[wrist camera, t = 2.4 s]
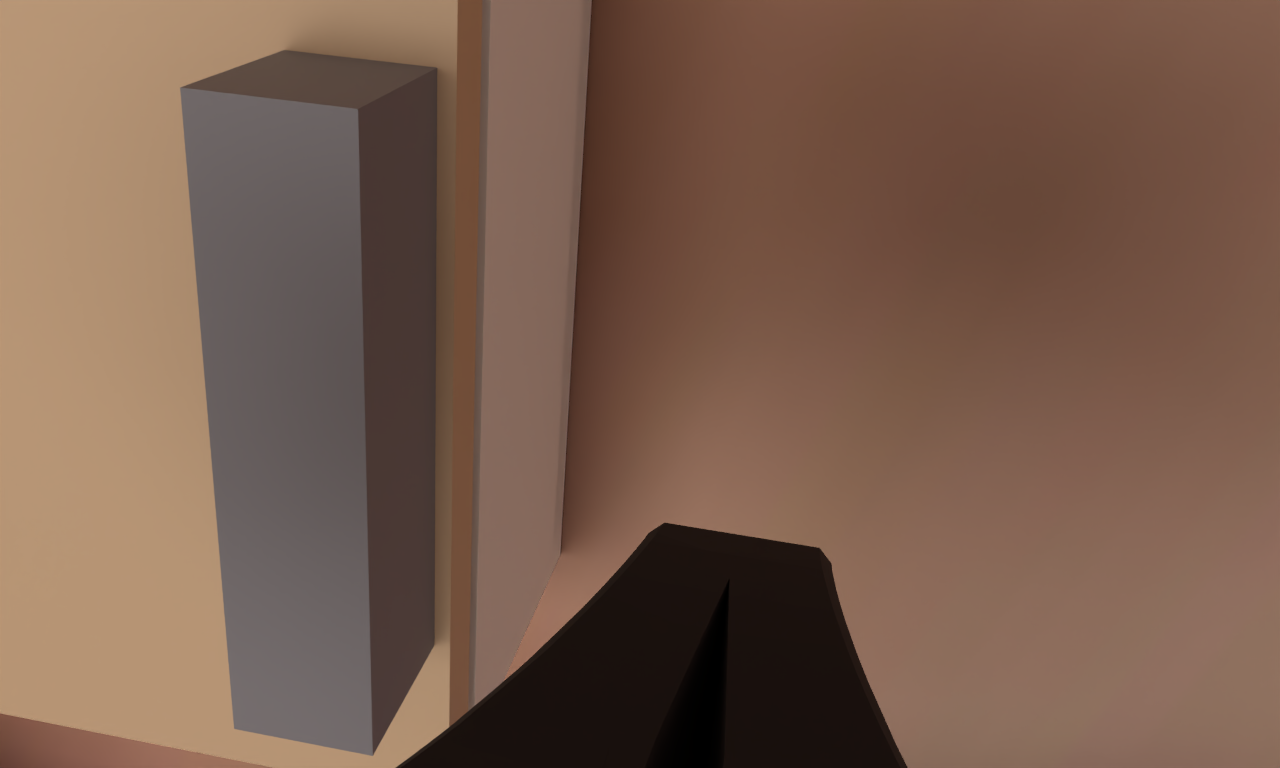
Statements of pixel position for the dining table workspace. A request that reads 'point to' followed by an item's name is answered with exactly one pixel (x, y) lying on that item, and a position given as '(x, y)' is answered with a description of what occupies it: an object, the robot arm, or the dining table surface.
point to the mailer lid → (239, 372)
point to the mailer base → (523, 313)
